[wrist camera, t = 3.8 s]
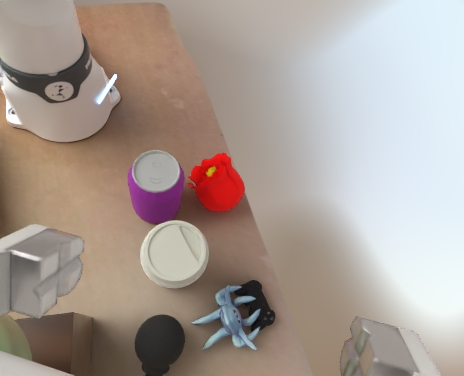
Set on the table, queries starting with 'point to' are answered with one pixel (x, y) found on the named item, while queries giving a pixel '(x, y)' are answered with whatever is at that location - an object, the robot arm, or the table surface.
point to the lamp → (50, 341)
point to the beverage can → (156, 186)
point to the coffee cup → (174, 254)
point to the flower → (217, 183)
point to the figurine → (239, 314)
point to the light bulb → (159, 344)
